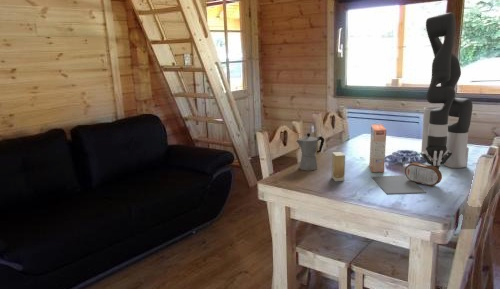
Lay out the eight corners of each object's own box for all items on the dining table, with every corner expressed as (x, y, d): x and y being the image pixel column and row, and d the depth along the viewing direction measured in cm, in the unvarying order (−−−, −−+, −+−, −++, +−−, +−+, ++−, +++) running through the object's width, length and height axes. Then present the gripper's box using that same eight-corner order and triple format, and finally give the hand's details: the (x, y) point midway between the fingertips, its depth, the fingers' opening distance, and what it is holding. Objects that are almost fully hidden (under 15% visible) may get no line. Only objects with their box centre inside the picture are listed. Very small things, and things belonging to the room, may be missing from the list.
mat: (406, 176, 182) (406, 175, 182) (426, 192, 161) (426, 192, 161) (371, 177, 183) (371, 176, 183) (387, 194, 161) (387, 193, 161)
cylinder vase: (442, 150, 222) (446, 106, 216) (449, 156, 210) (453, 110, 204) (418, 150, 224) (421, 106, 218) (424, 156, 212) (427, 110, 206)
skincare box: (331, 177, 185) (331, 151, 182) (340, 176, 185) (340, 151, 182) (335, 181, 179) (335, 155, 176) (344, 181, 179) (345, 154, 176)
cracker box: (385, 173, 188) (386, 129, 183) (371, 172, 189) (373, 129, 184) (381, 164, 201) (383, 124, 196) (369, 164, 203) (370, 124, 198)
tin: (440, 186, 168) (443, 167, 166) (438, 188, 166) (440, 169, 163) (406, 178, 178) (408, 160, 176) (403, 179, 176) (404, 161, 174)
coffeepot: (301, 172, 194) (300, 136, 190) (292, 167, 203) (292, 132, 198) (328, 168, 199) (329, 133, 195) (319, 163, 208) (319, 129, 203)
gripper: (449, 131, 170) (445, 170, 174) (418, 132, 170) (415, 171, 174) (457, 135, 163) (454, 175, 167) (425, 136, 163) (422, 176, 167)
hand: (434, 173), depth 170 cm, fingers closed
